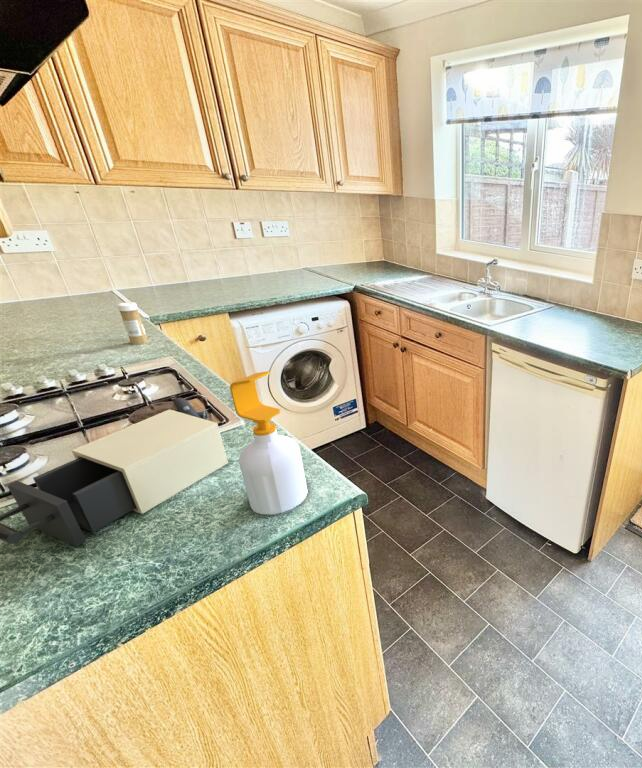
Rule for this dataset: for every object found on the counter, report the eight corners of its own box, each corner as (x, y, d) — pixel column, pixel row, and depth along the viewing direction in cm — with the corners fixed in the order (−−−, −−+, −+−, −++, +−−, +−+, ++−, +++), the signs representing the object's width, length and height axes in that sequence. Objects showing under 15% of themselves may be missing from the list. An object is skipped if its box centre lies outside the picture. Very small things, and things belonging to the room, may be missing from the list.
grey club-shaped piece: (217, 436, 91) (211, 414, 89) (177, 447, 87) (170, 424, 84) (200, 405, 103) (194, 385, 100) (165, 414, 98) (158, 392, 96)
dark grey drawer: (32, 573, 57) (7, 530, 54) (-17, 548, 61) (-44, 506, 57) (177, 488, 74) (164, 452, 71) (132, 472, 77) (118, 437, 74)
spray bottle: (280, 522, 70) (250, 390, 59) (238, 508, 72) (202, 379, 62) (319, 490, 77) (298, 368, 67) (280, 478, 80) (254, 359, 70)
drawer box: (142, 516, 69) (123, 469, 65) (92, 496, 73) (71, 450, 69) (228, 464, 83) (217, 422, 79) (182, 450, 86) (169, 409, 82)
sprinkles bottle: (152, 342, 138) (139, 302, 133) (142, 346, 134) (129, 305, 129) (137, 341, 138) (123, 301, 132) (127, 346, 134) (112, 305, 128)
